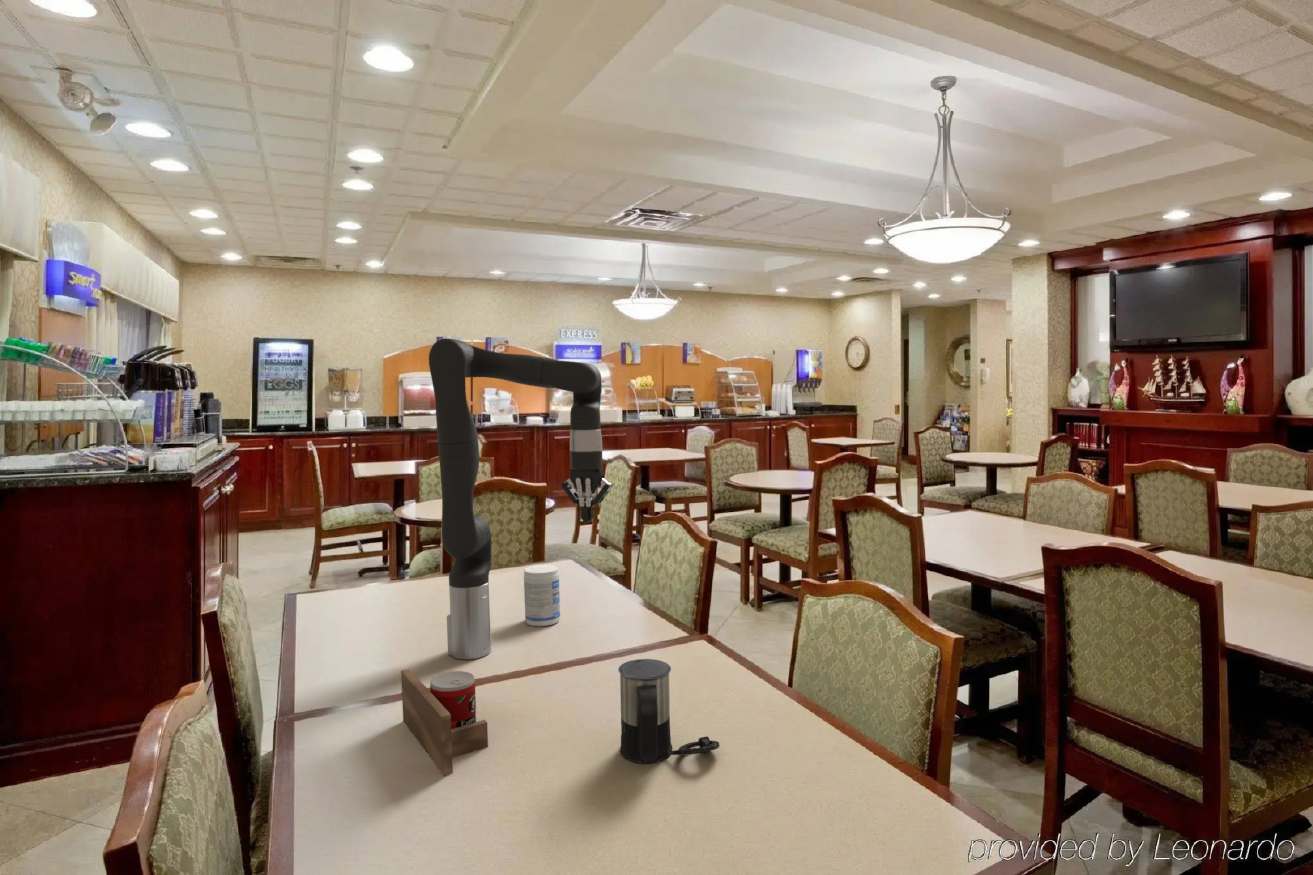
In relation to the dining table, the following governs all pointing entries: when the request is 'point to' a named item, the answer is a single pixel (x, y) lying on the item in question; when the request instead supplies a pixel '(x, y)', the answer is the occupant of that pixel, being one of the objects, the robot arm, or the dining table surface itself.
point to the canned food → (456, 696)
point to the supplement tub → (542, 595)
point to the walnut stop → (437, 725)
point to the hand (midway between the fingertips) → (587, 521)
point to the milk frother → (650, 714)
